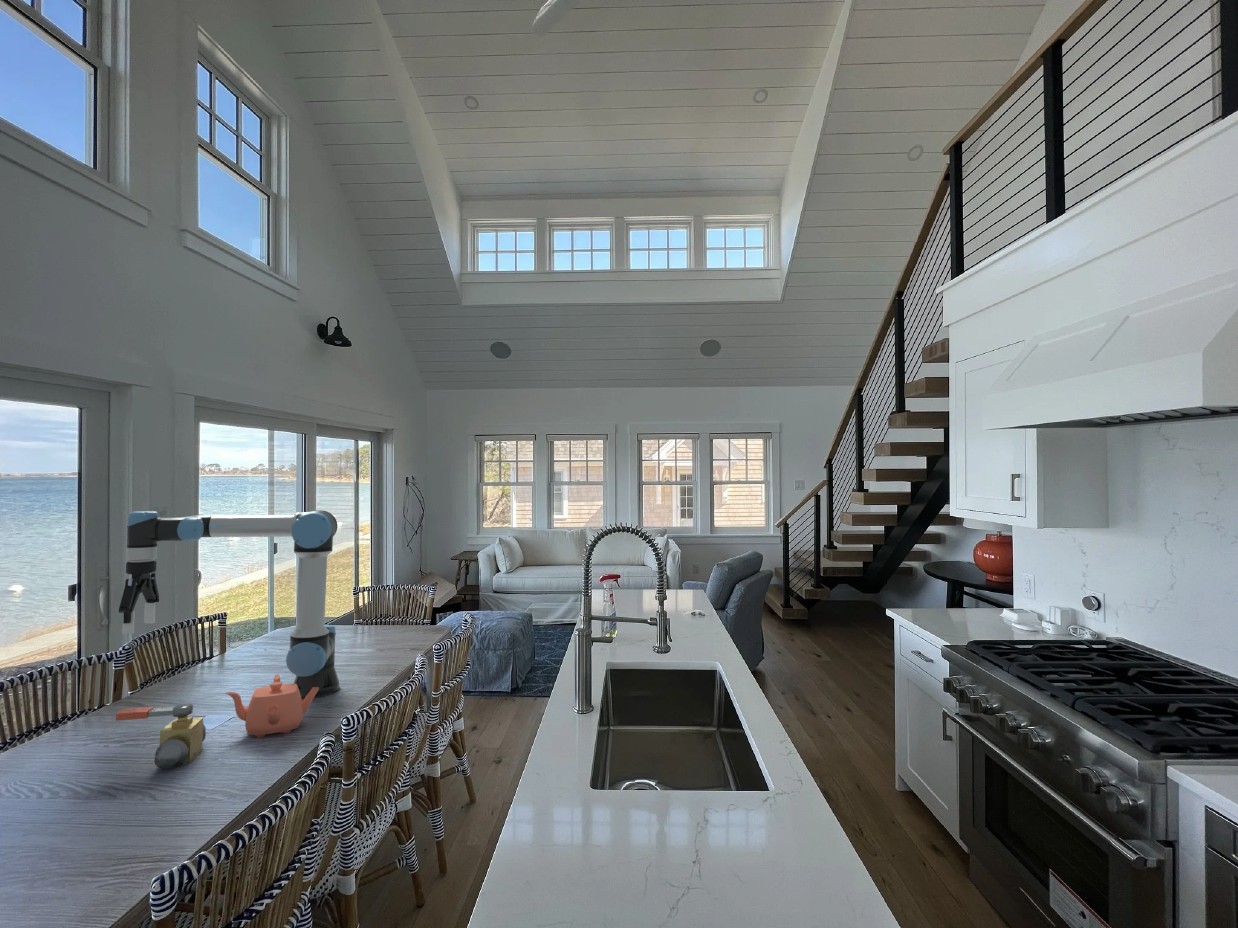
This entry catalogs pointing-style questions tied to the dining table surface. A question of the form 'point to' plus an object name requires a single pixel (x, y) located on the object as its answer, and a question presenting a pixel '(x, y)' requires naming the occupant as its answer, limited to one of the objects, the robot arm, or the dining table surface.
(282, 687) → the teapot
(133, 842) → the dining table surface
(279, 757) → the dining table surface
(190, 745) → the valve body
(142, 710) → the lever
